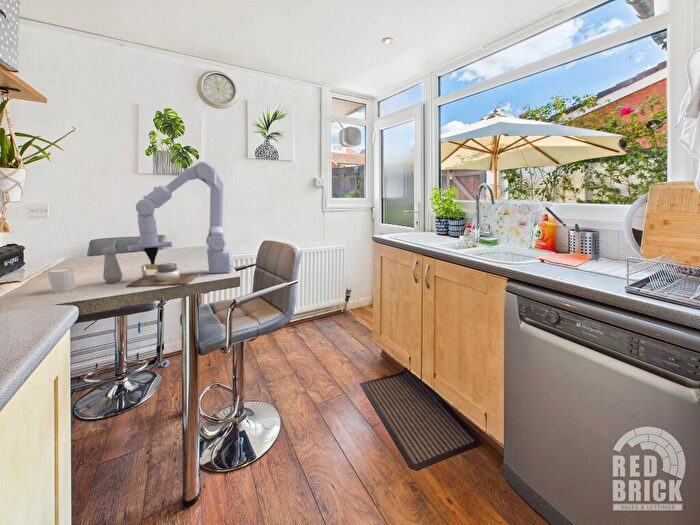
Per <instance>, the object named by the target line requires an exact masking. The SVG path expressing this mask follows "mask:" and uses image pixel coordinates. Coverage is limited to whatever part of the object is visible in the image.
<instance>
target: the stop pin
mask: <svg viewBox="0 0 700 525" xmlns="http://www.w3.org/2000/svg"><path fill="white" fill-rule="evenodd" d="M141 274H142V277H143V280H142V281H141V283H147V282H150V280H147V276H146V275H147V269H146V268H145V266H144V265H141Z"/></svg>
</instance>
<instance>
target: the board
mask: <svg viewBox="0 0 700 525" xmlns="http://www.w3.org/2000/svg"><path fill="white" fill-rule="evenodd" d="M199 274H200V272H197V273H196V272H194V273H193V272H192V273H191V272H190V273H187V272H186V273H180V278H179V279H177V280H172V281H156V275H155V274H146V276H147V280H150V282H147V283H141V281H142V280H143V276H141V277H139V278H138V279H136V280H134V281H132V282H129V283H128V284H126V285H125V287H126V288H138V287H139V288H140V287H160V286H161V287H163V286H164V287H166V285H170V286H187V285H189V284H190V283H191V282H192V281H194V280H195V279H196V278H197V277H199V276H200V275H201V274H200V275H199ZM198 275H199V276H198ZM195 277H196V278H195ZM194 278H195V279H194ZM189 282H190V283H189Z"/></svg>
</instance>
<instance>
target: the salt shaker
mask: <svg viewBox="0 0 700 525" xmlns="http://www.w3.org/2000/svg"><path fill="white" fill-rule="evenodd" d="M117 251H118V250H117V248H116V247H114V246H109V247H104V248H102V249H101V252H102V255H104V260H103V262H104V263H103V264H104V265H103V275H102V277H103V280H104V281H105V282H106V284H109V283H112V284H117V283H116V282H118V283H121V282H122V278H123V272H122V270H121V267H120V264H119V262H118V259H117V256H116V254H117ZM120 281H121V282H120Z"/></svg>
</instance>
